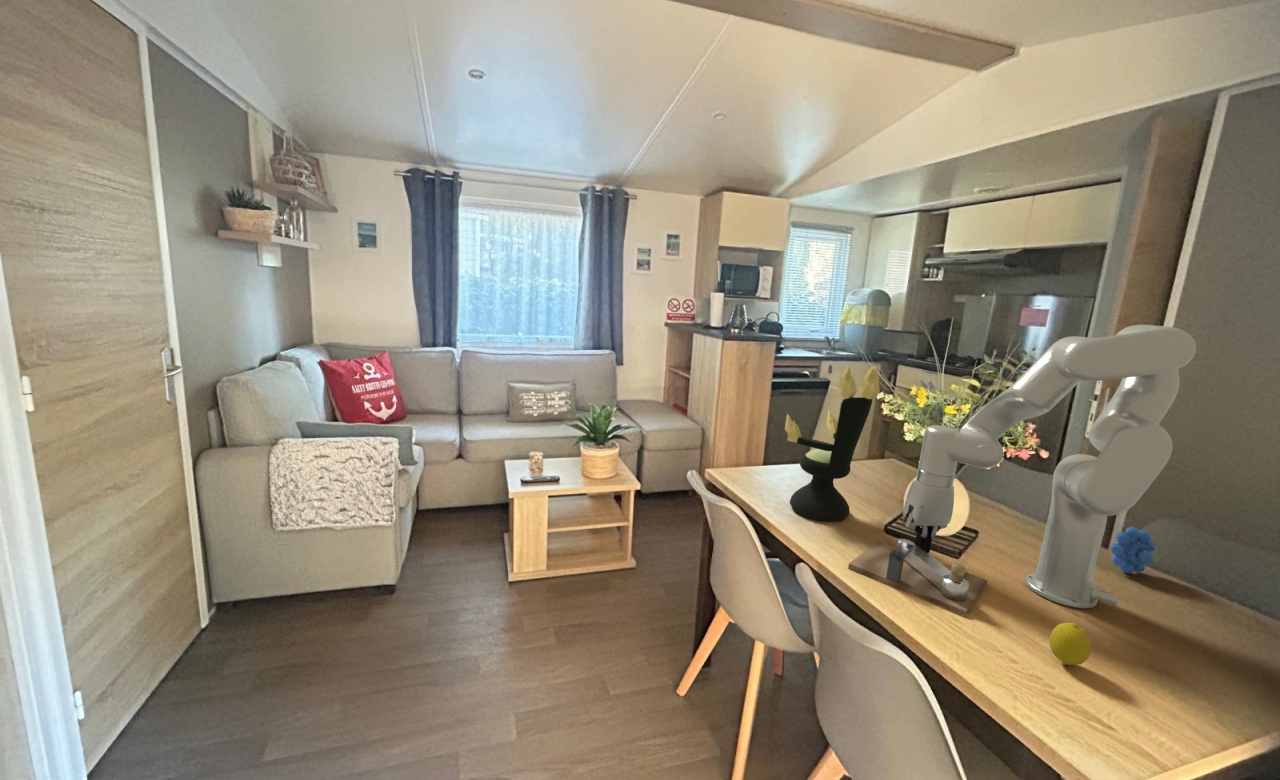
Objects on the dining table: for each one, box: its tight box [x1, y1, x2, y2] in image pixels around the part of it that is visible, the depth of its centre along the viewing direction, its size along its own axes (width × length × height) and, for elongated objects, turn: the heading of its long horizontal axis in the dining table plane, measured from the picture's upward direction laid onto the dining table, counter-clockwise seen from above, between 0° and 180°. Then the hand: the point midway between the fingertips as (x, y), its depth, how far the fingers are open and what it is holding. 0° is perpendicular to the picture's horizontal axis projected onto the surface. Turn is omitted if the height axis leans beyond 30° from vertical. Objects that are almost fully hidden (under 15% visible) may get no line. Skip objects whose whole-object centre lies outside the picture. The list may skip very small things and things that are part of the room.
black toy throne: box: [784, 365, 880, 522], centre depth 147 cm, size 19×22×45 cm
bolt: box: [896, 538, 969, 600], centre depth 117 cm, size 21×5×3 cm, turn 7°
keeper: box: [886, 542, 914, 583], centre depth 116 cm, size 2×8×6 cm, turn 135°
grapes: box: [1109, 526, 1156, 574], centre depth 125 cm, size 12×7×12 cm, turn 98°
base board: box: [848, 540, 988, 618], centre depth 118 cm, size 24×18×8 cm
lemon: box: [1049, 622, 1092, 666], centre depth 91 cm, size 6×6×8 cm
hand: (921, 550), depth 125 cm, fingers closed
